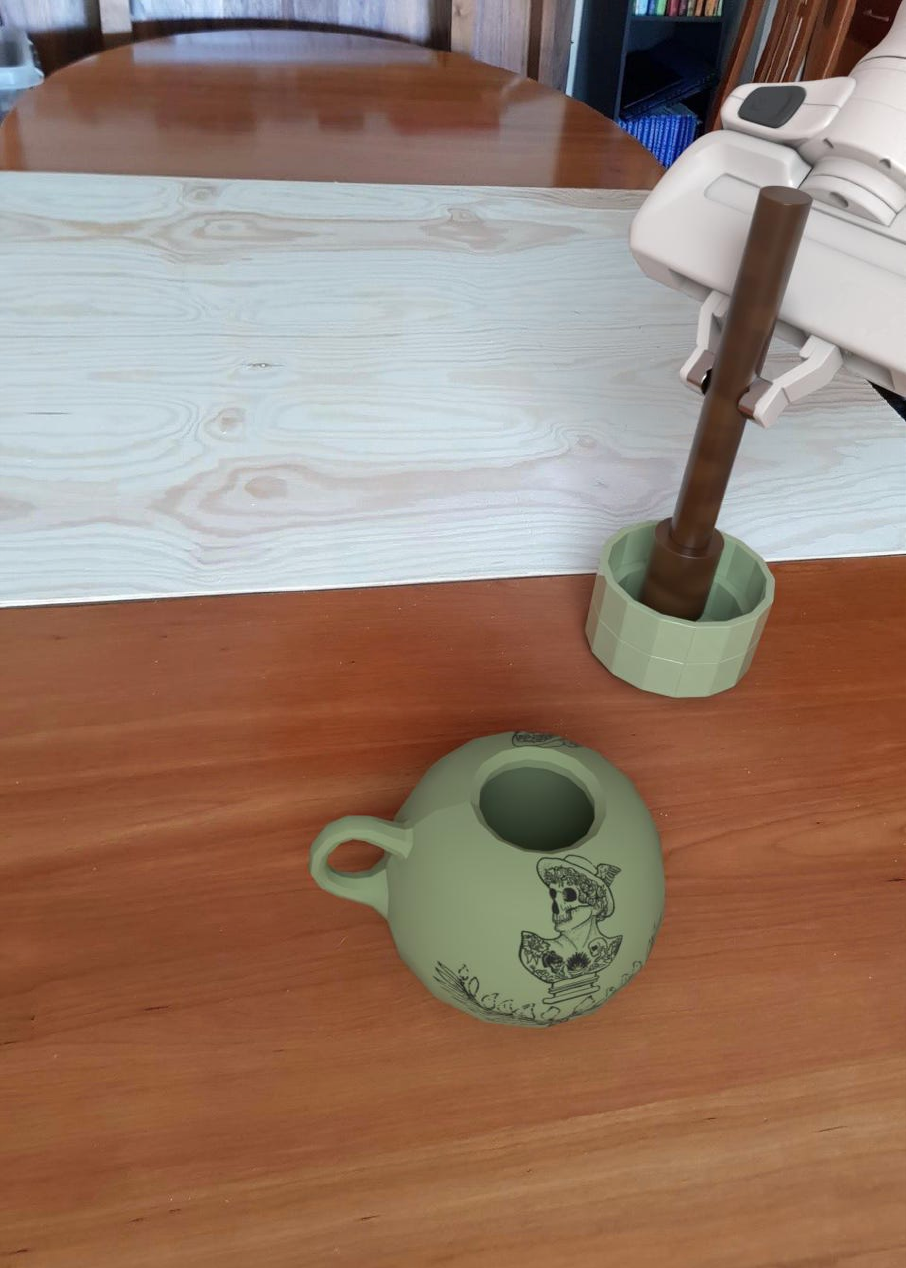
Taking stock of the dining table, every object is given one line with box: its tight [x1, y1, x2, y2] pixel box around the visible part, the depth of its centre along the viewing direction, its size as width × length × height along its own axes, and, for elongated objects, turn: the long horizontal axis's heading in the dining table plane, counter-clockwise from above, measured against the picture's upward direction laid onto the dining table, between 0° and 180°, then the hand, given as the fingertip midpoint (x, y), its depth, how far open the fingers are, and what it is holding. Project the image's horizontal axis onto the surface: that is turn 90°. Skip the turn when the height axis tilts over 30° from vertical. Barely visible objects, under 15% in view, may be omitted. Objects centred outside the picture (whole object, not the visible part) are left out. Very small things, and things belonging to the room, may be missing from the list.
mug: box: [307, 730, 667, 1029], centre depth 47 cm, size 16×13×9 cm
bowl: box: [584, 519, 776, 699], centre depth 63 cm, size 10×10×6 cm
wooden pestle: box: [638, 186, 813, 622], centre depth 55 cm, size 4×4×24 cm
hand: (720, 402), depth 54 cm, fingers closed on wooden pestle, 2 cm apart
